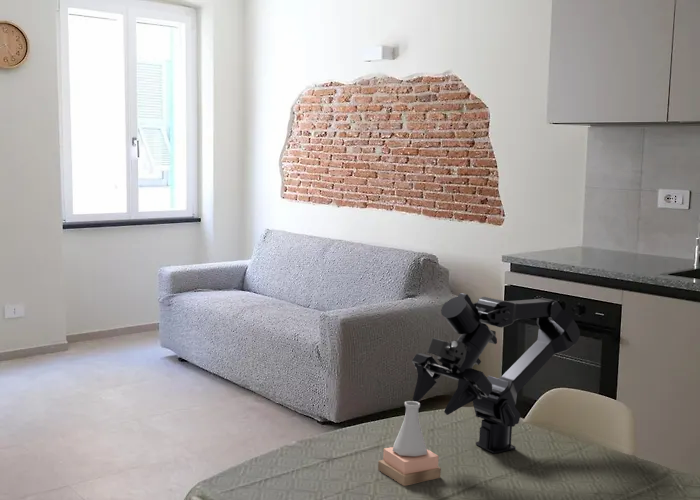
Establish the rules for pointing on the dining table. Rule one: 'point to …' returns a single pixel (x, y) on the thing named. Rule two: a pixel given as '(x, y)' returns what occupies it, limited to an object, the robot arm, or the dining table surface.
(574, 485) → the dining table surface
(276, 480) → the dining table surface
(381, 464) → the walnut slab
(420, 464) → the terracotta slab
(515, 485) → the dining table surface
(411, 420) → the flask
